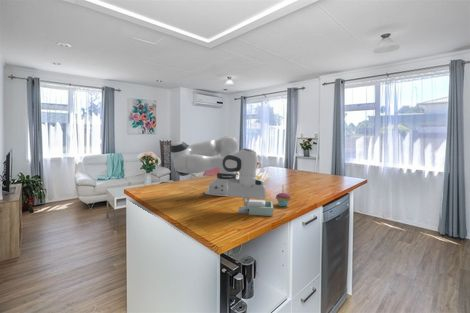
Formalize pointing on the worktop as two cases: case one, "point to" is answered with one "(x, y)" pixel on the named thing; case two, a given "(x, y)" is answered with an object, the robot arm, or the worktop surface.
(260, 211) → the dock
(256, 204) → the white rectangular block
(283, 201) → the cupcake
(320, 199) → the worktop surface
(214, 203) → the worktop surface
